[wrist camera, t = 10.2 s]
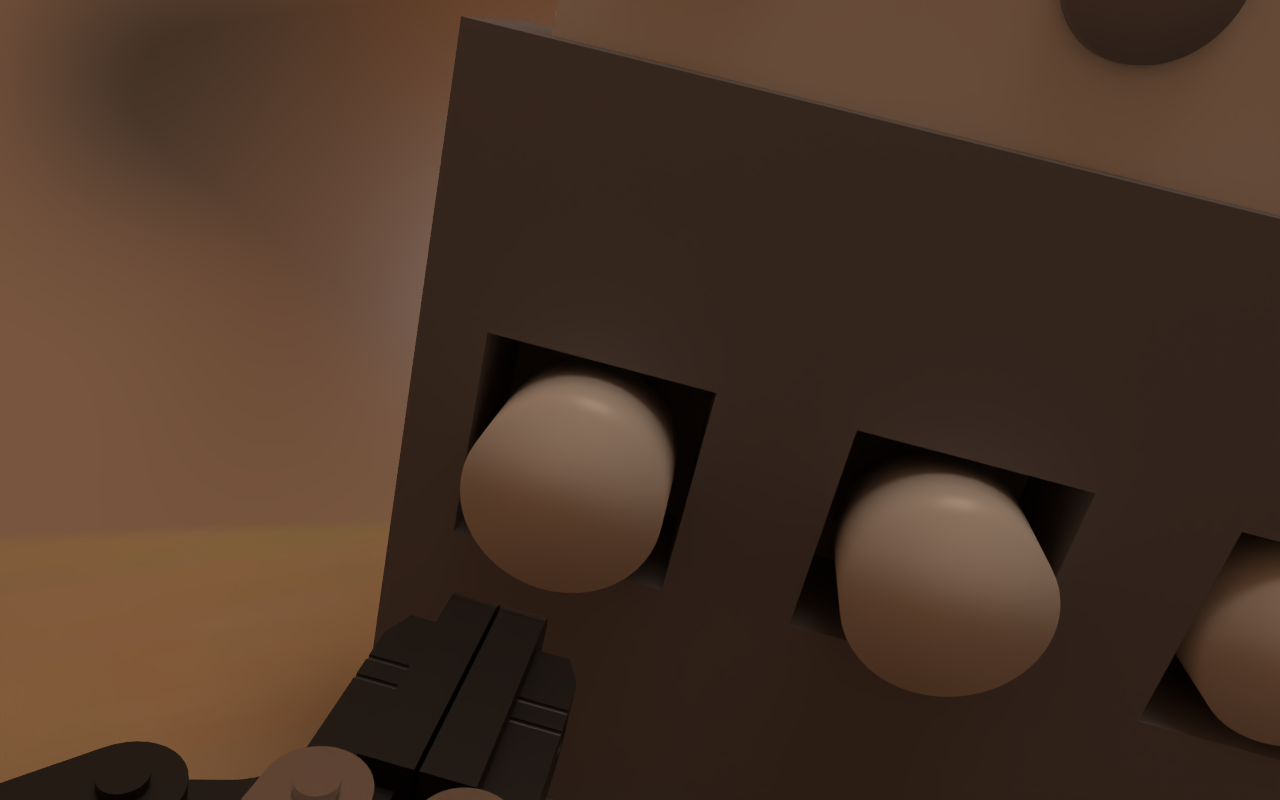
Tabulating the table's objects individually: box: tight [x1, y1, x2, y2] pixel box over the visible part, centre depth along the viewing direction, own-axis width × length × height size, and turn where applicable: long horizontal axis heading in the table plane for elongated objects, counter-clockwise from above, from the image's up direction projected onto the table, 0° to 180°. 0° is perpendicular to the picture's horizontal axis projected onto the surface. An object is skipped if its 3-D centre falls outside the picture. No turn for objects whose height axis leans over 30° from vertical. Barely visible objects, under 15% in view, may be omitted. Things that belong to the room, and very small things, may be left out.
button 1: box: [460, 359, 679, 593], centre depth 20 cm, size 4×3×4 cm
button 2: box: [1175, 532, 1280, 746], centre depth 21 cm, size 4×3×4 cm
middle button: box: [833, 451, 1060, 697], centre depth 20 cm, size 4×3×4 cm
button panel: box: [373, 16, 1280, 800], centre depth 23 cm, size 24×8×20 cm, turn 81°
